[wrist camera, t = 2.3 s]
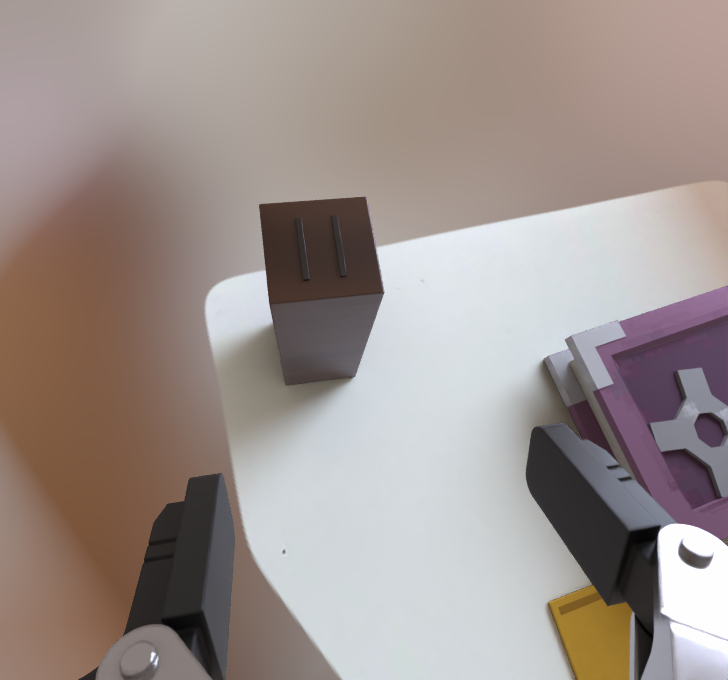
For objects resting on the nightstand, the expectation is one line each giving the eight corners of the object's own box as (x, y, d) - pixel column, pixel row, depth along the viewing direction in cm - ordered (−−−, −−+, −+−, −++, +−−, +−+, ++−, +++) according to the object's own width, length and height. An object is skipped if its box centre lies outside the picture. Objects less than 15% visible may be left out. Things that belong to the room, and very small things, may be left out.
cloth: (622, 802, 31) (625, 805, 31) (547, 602, 34) (549, 603, 34) (792, 716, 34) (797, 718, 33) (707, 539, 37) (711, 539, 37)
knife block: (355, 376, 38) (385, 291, 23) (285, 385, 37) (269, 303, 22) (345, 313, 40) (367, 194, 25) (278, 320, 39) (258, 202, 24)
